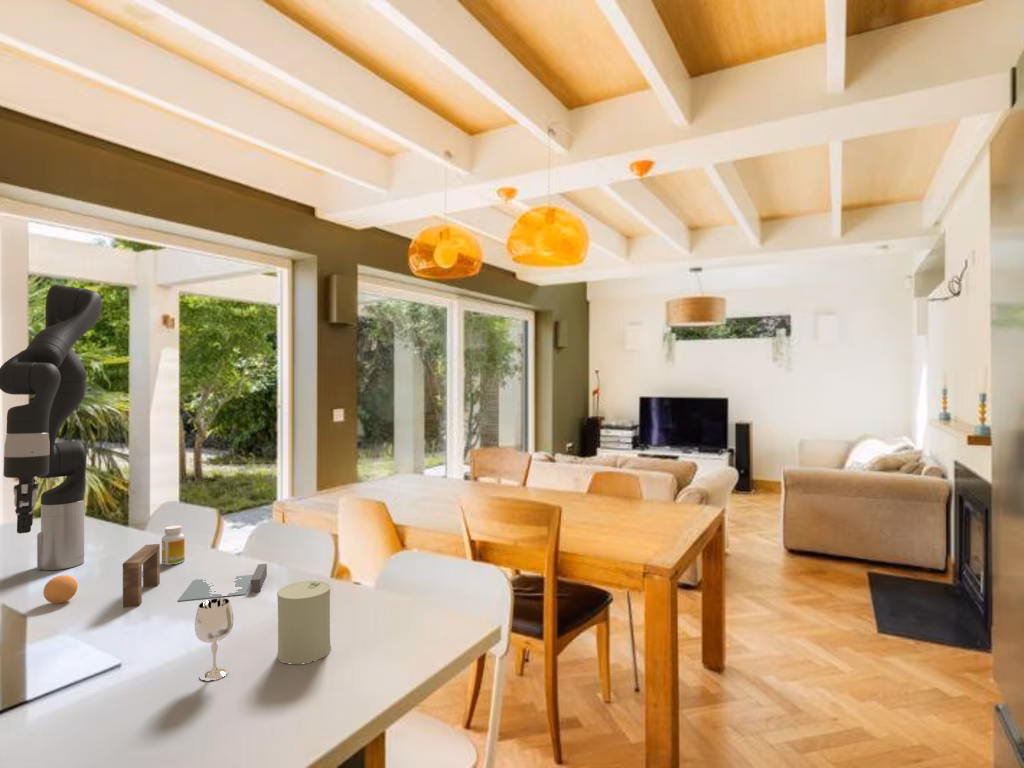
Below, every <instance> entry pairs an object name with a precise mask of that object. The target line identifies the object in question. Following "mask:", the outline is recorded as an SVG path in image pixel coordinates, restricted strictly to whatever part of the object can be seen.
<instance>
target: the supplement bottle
mask: <svg viewBox="0 0 1024 768" xmlns="http://www.w3.org/2000/svg"><path fill="white" fill-rule="evenodd" d="M182 529H183V528H182V525H170V526H166V527H164V534H165V535H163V536H162V537H161V564H162V565H163V564H165V565H164V566H172V565H171V564H175V565H178V563H179V564H182V563H183V562H184V561H185V560H186V559H185V556H186V555H185V552H186V551H185V549H186V547H185V543H186V542H185V535H184V534H183V533H182ZM181 562H182V563H181Z"/></svg>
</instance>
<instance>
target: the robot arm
mask: <svg viewBox="0 0 1024 768" xmlns="http://www.w3.org/2000/svg"><path fill="white" fill-rule="evenodd" d="M46 294H47V295H46V298H45V317H44V318H45V328H44V329H42V330H41V331H40V332H38V333H37V334H36V335H35V336H34V337H33V338H32V340H31V341H30V343H29V344H28V346H27V347H26V348H25V349H24V350H21V351H20V352H18V353H17V354H15V355H14V356H12V357H11V358H9V359H8V360H6V361H5V362H4V363H3V364H2V365H1V366H0V391H1V392H3V393H5V394H8V395H12V396H13V395H17V396H18V395H19V396H20V395H24V396H26V395H27V396H29V395H35V396H34V398H33V399H32V400H31V401H30V402H29V403H26V404H22V405H16V406H12V407H10V408H9V409H8V410H7V413H6V434H5V436H6V437H5V440H4V445H3V448H4V451H3V472H2V473H3V474H2V475H3V477H4V478H9V479H14V478H17V479H18V484H15V485H14V486H13V495H14V500H13V504H14V507H15V508H16V509H15V510H14V512H15V514H16V518H17V519H16V532H17V534H28V533H30V532H31V531H32V525H33V521H34V520H33V519H34V518H33V517H34V508H35V505H36V502H37V498H38V496H37V495H38V492H39V483H36V480H37V479H36V478H39V479H52V478H62V477H65V479H64V480H63V481H62V482H61V483H60V484H58V485H56V486H54V487H52V488H50V489H48V490H45V491H44V492H42V493H41V495H40V532H38V533H37V535H36V570H37V571H39V570H43V571H58V570H65V569H70V568H74V567H77V566H80V565H82V564H84V563H85V490H86V473H87V472H86V471H87V450H86V447H85V445H84V444H83V443H82V442H80V441H65V442H62V441H61V442H56V439H57V436H58V433H59V431H60V429H61V427H62V426H63V424H64V423H65V422H66V420H67V419H68V418H69V417H70V416H71V415H72V414H73V412H75V411H76V410H77V408H78V407H79V406H80V404H82V401H83V400H84V398H85V396H86V384H87V371H86V369H85V366H84V364H83V362H82V361H81V359H80V358H79V356H78V355H77V354H76V352H75V351H74V349H73V346H74V345H75V343H77V342H78V341H79V340H80V339H81V338H82V337H83V336H84V335H86V333H87V332H88V331H89V330H91V329H92V327H94V325H95V324H96V323H97V322H98V320H99V318H100V317H101V313H102V308H103V301H102V300H103V299H102V297H101V295H100V294H99V293H98V292H97V291H95V290H92V289H86V288H81V287H74V286H68V285H61V284H54V285H51V286H50V288H49V289H48V291H47V293H46Z"/></svg>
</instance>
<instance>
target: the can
mask: <svg viewBox="0 0 1024 768" xmlns="http://www.w3.org/2000/svg"><path fill="white" fill-rule="evenodd" d="M276 596H277V640H278V641H277V655H276V659H277V660H278V659H279V660H280V661H282V662H285V663H291V664H301V665H303V664H302V663H307V664H309V663H308V662H311V663H313V662H312V661H315V660H317V661H319V659H320V660H321V658H322V659H324V658H325V657H327V654H330V652H331V650H332V645H331V585H330V584H329V583H328V582H325V581H320V580H304V581H299V582H294V583H290V584H288V585H284V586H283V587H281V588H280V589H279V590H277V594H276ZM279 660H278V661H279ZM280 661H279V662H280ZM282 662H281V663H282ZM315 662H316V661H315Z"/></svg>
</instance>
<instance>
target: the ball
mask: <svg viewBox="0 0 1024 768" xmlns="http://www.w3.org/2000/svg"><path fill="white" fill-rule="evenodd" d="M77 591H78V582H77V580H76V578H74V577H73V576H71V575H66V574H63V575H57V576H55V577H52V578H51V579H50V580H48V582H47V583H46V584H45V586H44V588H43V592H42V593H43V597H44V599H45V600H46V601H47V602H49V603H52V604H57V605H58V604H63V603H66V602H68V601H70V600H71V599H72V598H73V597H74V596H75V595H76V593H77Z"/></svg>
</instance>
